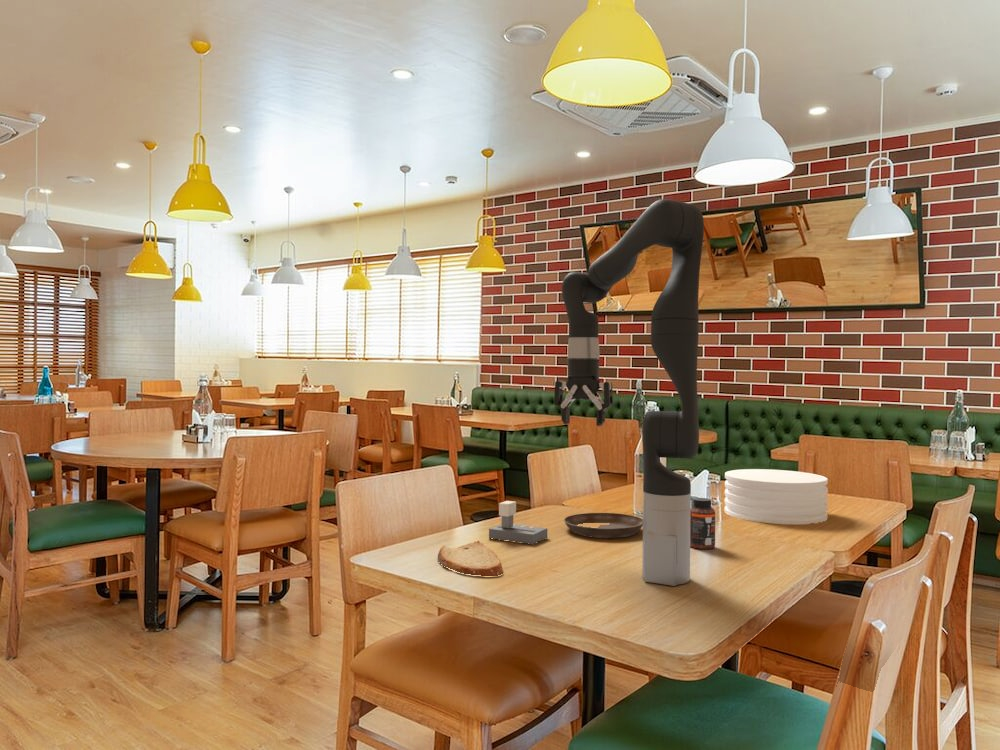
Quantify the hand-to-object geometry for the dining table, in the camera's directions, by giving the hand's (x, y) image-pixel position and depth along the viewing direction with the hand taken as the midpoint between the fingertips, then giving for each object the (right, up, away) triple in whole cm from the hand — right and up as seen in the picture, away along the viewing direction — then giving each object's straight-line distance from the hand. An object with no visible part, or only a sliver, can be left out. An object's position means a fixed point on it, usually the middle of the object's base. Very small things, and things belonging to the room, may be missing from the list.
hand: (582, 424), depth 169 cm
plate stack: (+61, -29, +38) cm, 77 cm away
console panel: (-15, -28, +5) cm, 32 cm away
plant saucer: (+7, -29, +14) cm, 33 cm away
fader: (-18, -25, +5) cm, 32 cm away
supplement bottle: (+28, -29, -2) cm, 40 cm away
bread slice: (-26, -29, -18) cm, 43 cm away
